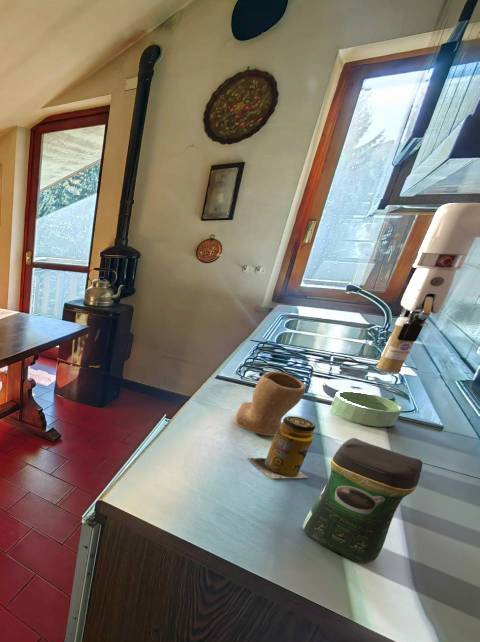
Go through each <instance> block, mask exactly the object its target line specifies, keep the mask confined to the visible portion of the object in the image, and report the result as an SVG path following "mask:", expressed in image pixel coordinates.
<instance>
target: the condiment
mask: <svg viewBox="0 0 480 642" xmlns="http://www.w3.org/2000/svg"><path fill="white" fill-rule="evenodd" d="M315 429H316V424H315V423H314V422H312V421H311V420H309V419H306V418H304V417H300V416H296V415H295V416H292V415H288V416H287V415H286V416H285V417H283V418H282V421H281V426H280V427H279V428H278V429H277V431H276V434H275V435H273V439H272V442H271V444H270V447H269V449H268V453H267V455H266V457H258V458H257V457H247V458H246V459H247V460H248V461H249V462H250V464H252V465H253V466H254V467H256V468H257V469H258V470H259V471H260V472H262V473H263V474H264V475H265V476H267V477H268V478H269V479H309V476H308V475H306V474H305V473H303V472H301V471H300V470H301V468H302V466H303V464H304V461H305V459H306V456H307V454H308V452H309V449H310V447H311V445H312V443H313V440H314V437H313V434H314V431H315Z"/></svg>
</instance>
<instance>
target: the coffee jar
mask: <svg viewBox="0 0 480 642" xmlns="http://www.w3.org/2000/svg"><path fill="white" fill-rule="evenodd" d="M422 469H423V461H422V459H420V458H417V457H411V456H408V455H405V454H402V453H399V452H397V451H393V450H390V449H387V448H385V447H381V446H378V445H376V444H373V443H369V442H366V441H363V440H360V439H358V438H356V437H351V438H349V439H347V440H345V441H344V442H343V443H342V444H341V446H340V447H339V448H338V449H337V451H336V452H335V454H334V455H333V456H332V457H331V460H330V475H329V477H328V480H327V482H326V483H325V486H324V487H323V490H322V491H321V494H320V495H319V496H318V498H317V499H316V501H315V503H314V504H313V506H312V507H311V509H310V510H309V512H308V514H307V516H306V518H305V519H304V521H303V524H302V530H303V532H304V533H305V535H306V536H307V537H308V538H309V539H311V540H313V541H314V540H315V542H316V541H317V542H316V543H318V542H319V543H320V545H321V544H322V545H321V546H323V545H324V546H323V547H325V546H326V547H325V548H327V547H328V548H327V549H329V548H330V549H329V550H331V549H332V550H331V551H333V552H334V551H335V553H336V552H337V554H338V553H339V554H338V555H341V556H343V557H345V558H347V559H349V560H351V561H354V562H357V563H371V562H373V561H376V559H377V558H378V557H379V555H380V553H381V551H382V549H383V547H384V544H385V542H386V539H387V536H388V532H389V531H390V526H391V524H392V521H393V519H394V516H395V514H396V511H397V509H398V507H399V505H400V504H401V503H402V501H403V499H404V498H405V497H407V496H409V495H410V494H412V493H413V492H414V491H415V490H416V488H417V486H418V485H419V481H420V479H421V478H420V477H421V473H422ZM319 543H318V544H319Z"/></svg>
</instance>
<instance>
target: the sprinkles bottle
mask: <svg viewBox="0 0 480 642" xmlns="http://www.w3.org/2000/svg"><path fill="white" fill-rule="evenodd" d="M407 319H408V317H399V316H398V317H397V319H396V321H395V323H394V326H395V328H394V327H393V328H394V330H393V329H392V330H393V332H392V331H391V333H392V334H390V335H389V338H388V340H387V341H386V344H385V346H384V348H383V350H382V353H381V355H380V358H379V360H378V363H377V365H376V366H375V367H376V369H378V370H380V371H383V372H387V373H400V372H401V371H402V367H403V365H404V363H405V361H406V360H407V358H408V356H409V354H410V352H411V350H412V347H413V345H414V343H415V342H412V341H404V340H398V339H397V337H398V335H399V333H400V330H401V328H402V326H403V324H404V323H405V324H406V322H407Z"/></svg>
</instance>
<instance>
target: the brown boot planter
mask: <svg viewBox="0 0 480 642" xmlns="http://www.w3.org/2000/svg"><path fill="white" fill-rule="evenodd" d="M306 390H307V387H306V385H305V384H304V383H303V381H301V380H300V379H298V378H297V377H295V376H292V375H291V374H288V373H285V372H281V371H267V372H265V373H264V374H262V375H261V377H260V378H259V379H258V381H257V383H256V386H255V387H254V389H253V392H252V398H251V399H252V400H251V401H244V402H242V403H241V404H240V406H239V407H238V409H237V411H236V413H235V416H234V424H235V425H236V426H238V427H239V428H241V429H243V430H245V431H248V432H252V433H254V434H258V435H261V436H268V437H272V436H273V437H274V436H275V434H276V431H277V429H278V428H279V427H280V426H281V424H282V420H283V418H284V416H285V415H286V414H287V413H288V412H290V411H291V410H292V409H294V408H295V406H297V405H298V403H299V402H301V400H302V398H303V396H304V395H305V394H306Z"/></svg>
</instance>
